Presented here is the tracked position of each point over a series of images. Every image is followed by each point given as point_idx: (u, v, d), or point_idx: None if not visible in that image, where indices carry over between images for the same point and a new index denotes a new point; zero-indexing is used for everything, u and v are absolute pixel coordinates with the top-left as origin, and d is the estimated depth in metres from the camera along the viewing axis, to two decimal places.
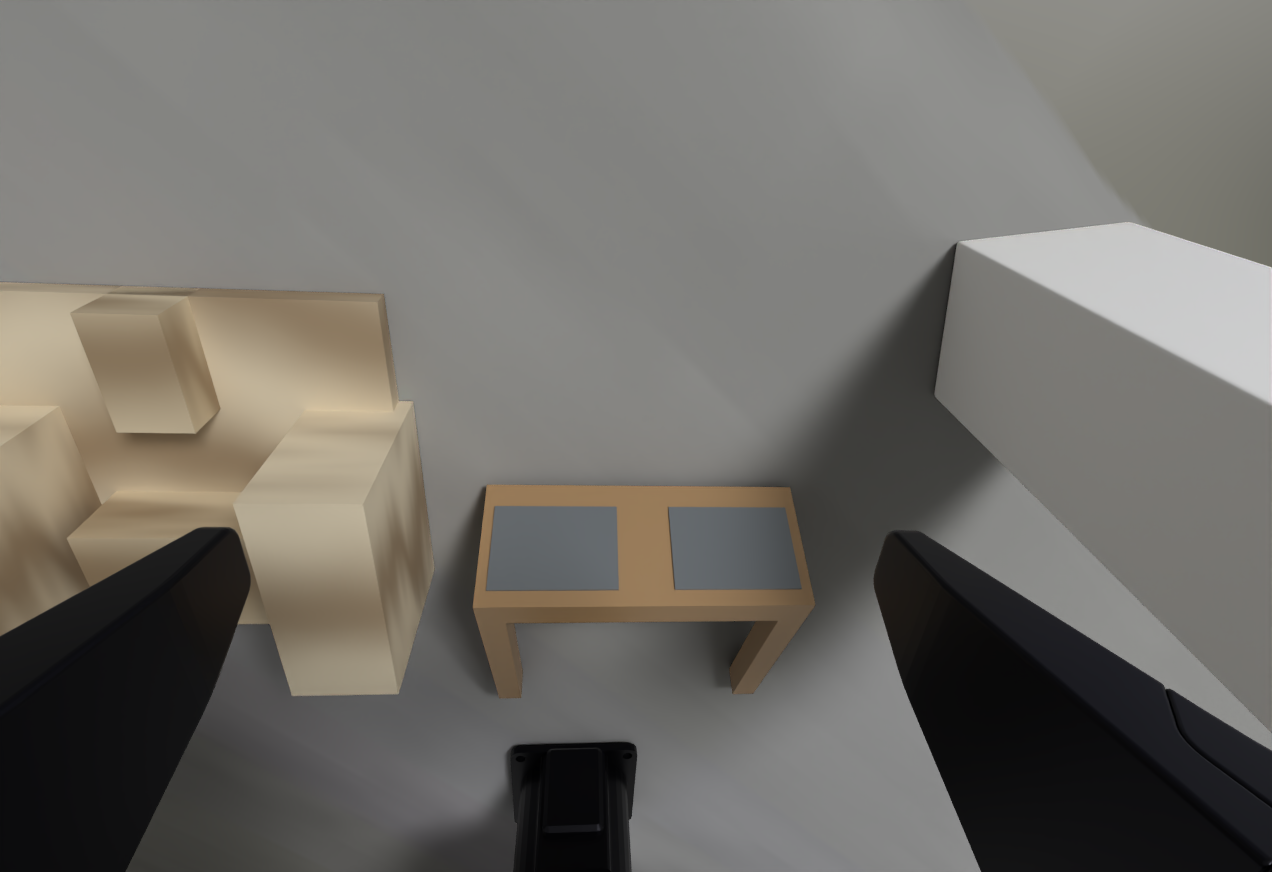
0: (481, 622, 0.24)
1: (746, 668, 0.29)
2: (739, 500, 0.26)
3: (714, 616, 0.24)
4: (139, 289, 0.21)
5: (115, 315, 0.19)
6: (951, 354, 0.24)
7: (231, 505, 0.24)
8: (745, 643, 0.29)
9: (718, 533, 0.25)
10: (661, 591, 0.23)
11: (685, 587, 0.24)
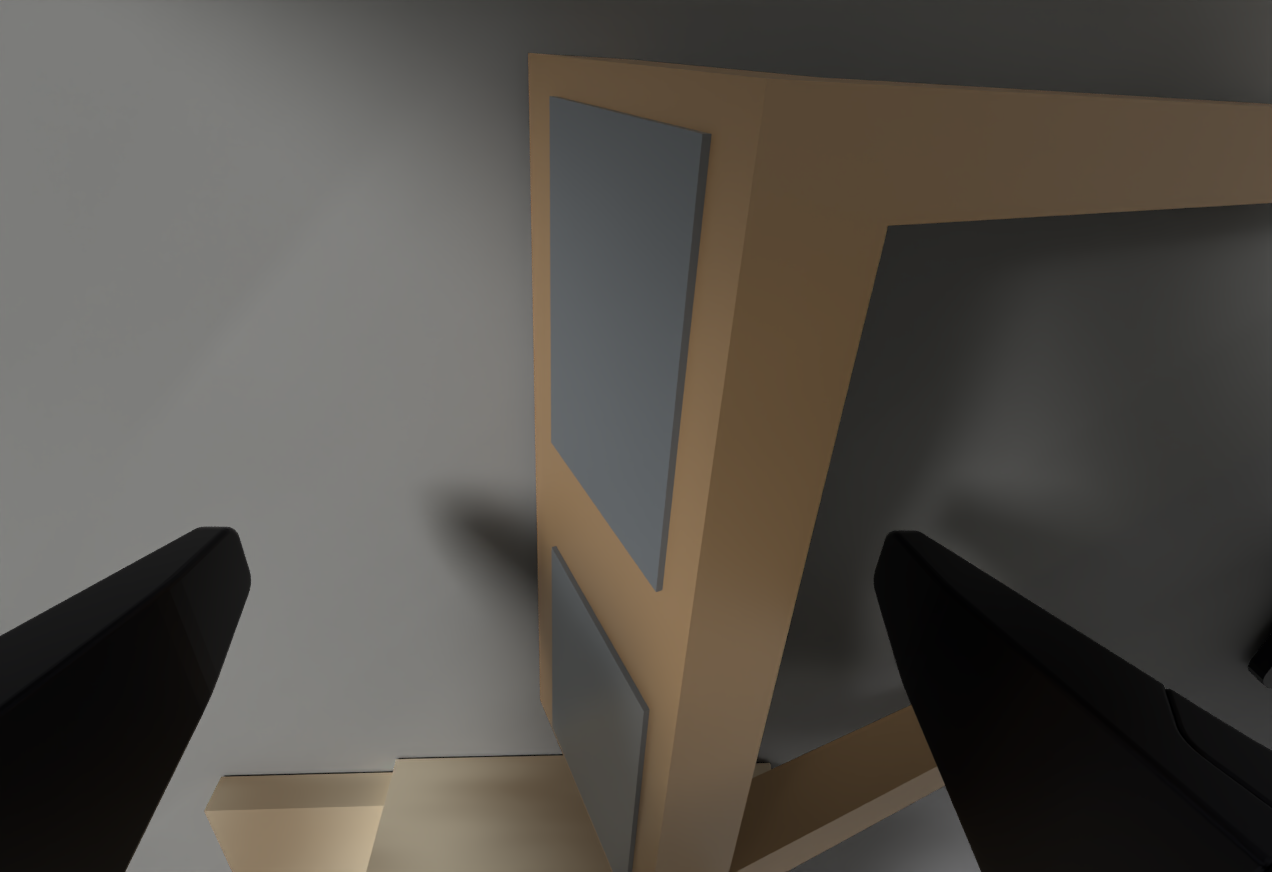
0: None
1: None
2: (545, 243, 0.09)
3: (789, 487, 0.06)
4: None
5: None
6: None
7: None
8: None
9: (583, 359, 0.08)
10: (661, 624, 0.07)
11: (656, 562, 0.07)
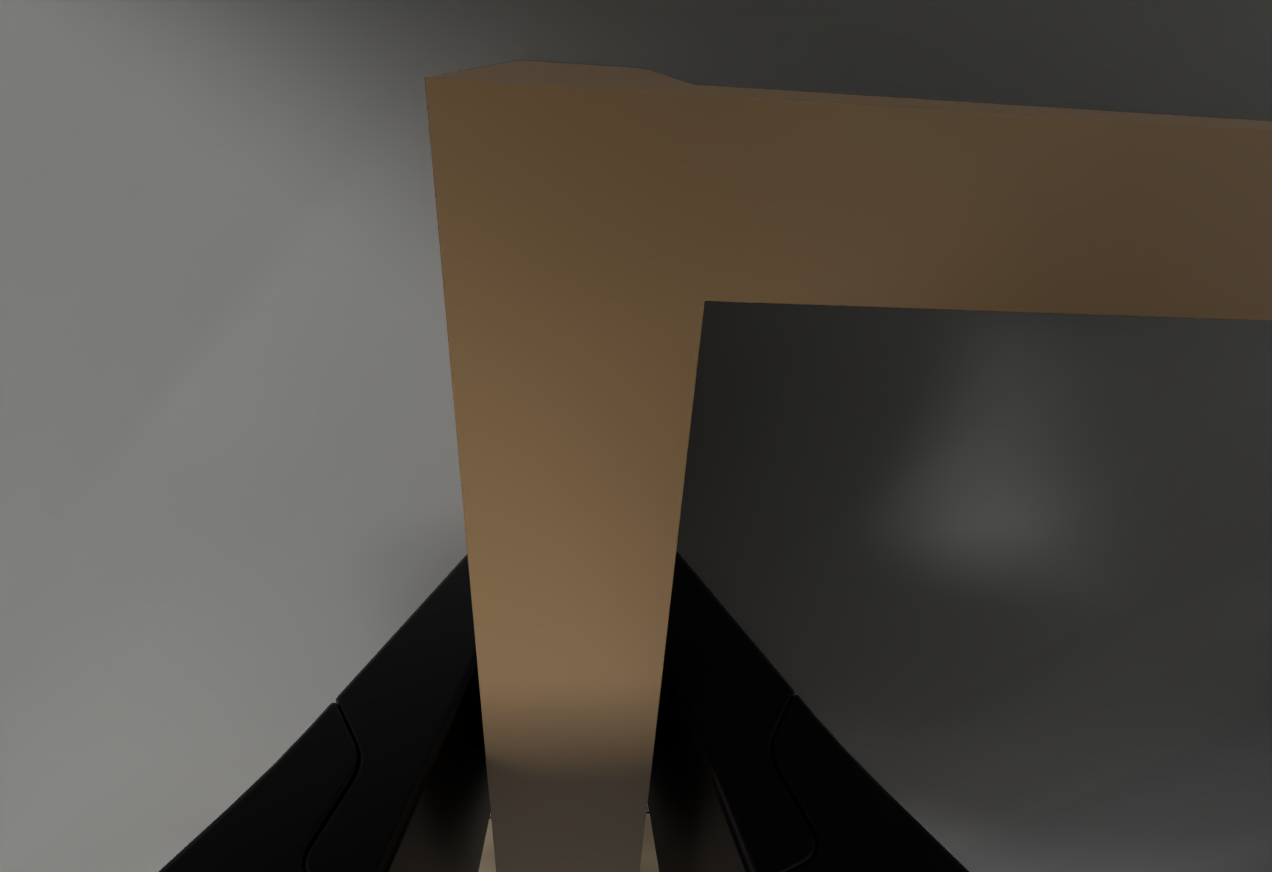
0: None
1: None
2: None
3: (605, 625, 0.05)
4: None
5: None
6: None
7: None
8: None
9: None
10: None
11: None
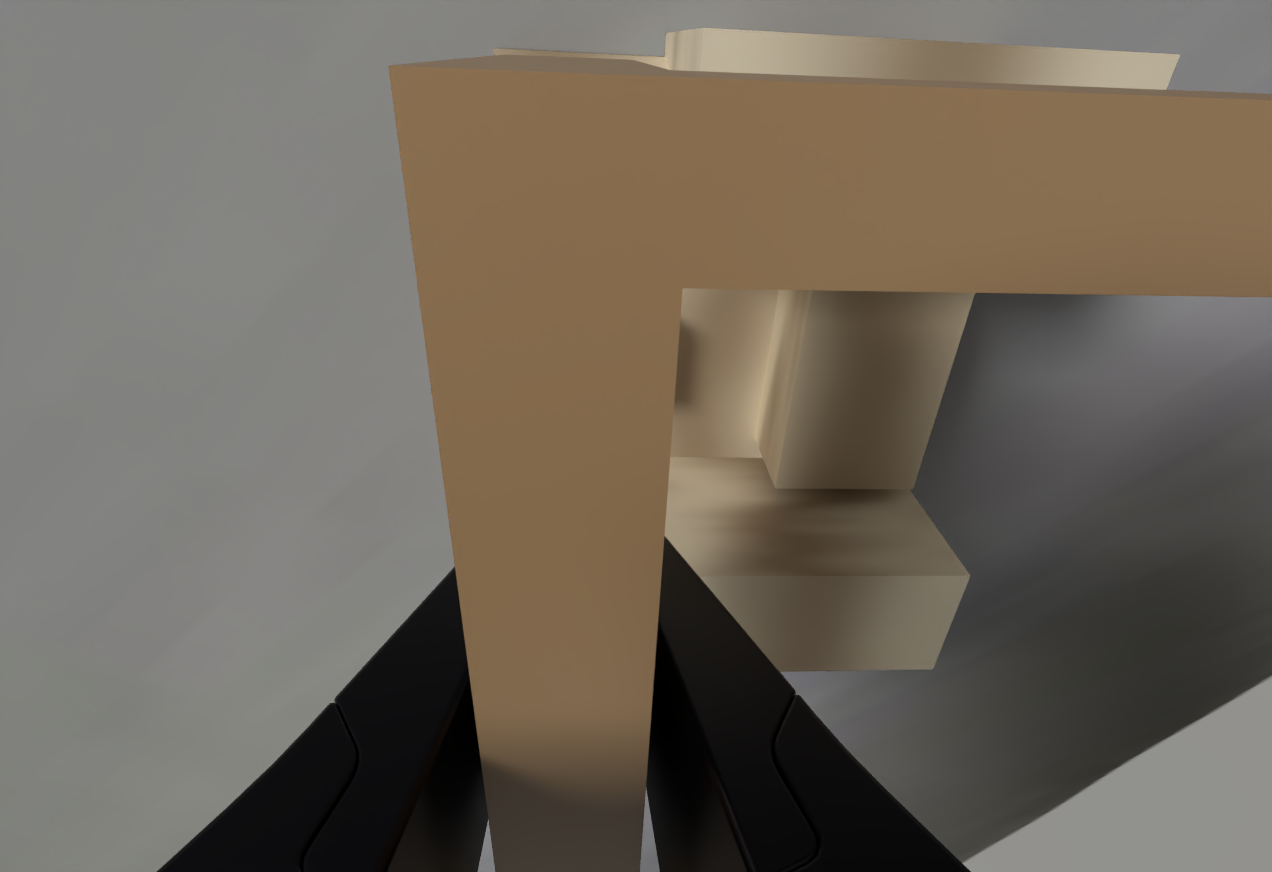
0: None
1: None
2: None
3: (595, 620, 0.05)
4: None
5: None
6: None
7: (783, 316, 0.18)
8: None
9: None
10: None
11: None
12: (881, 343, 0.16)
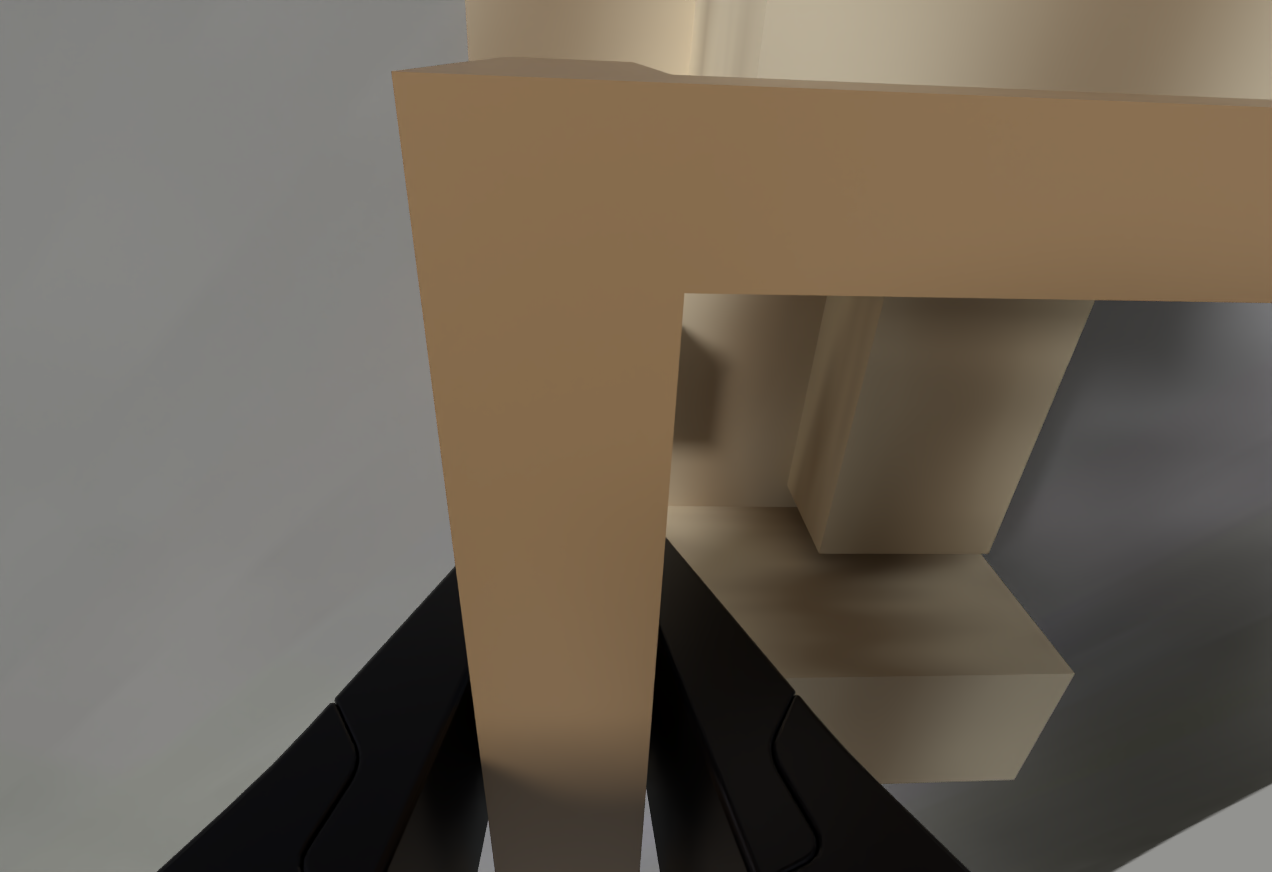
0: None
1: None
2: None
3: (597, 624, 0.05)
4: None
5: None
6: None
7: (832, 338, 0.14)
8: None
9: None
10: None
11: None
12: (965, 376, 0.13)
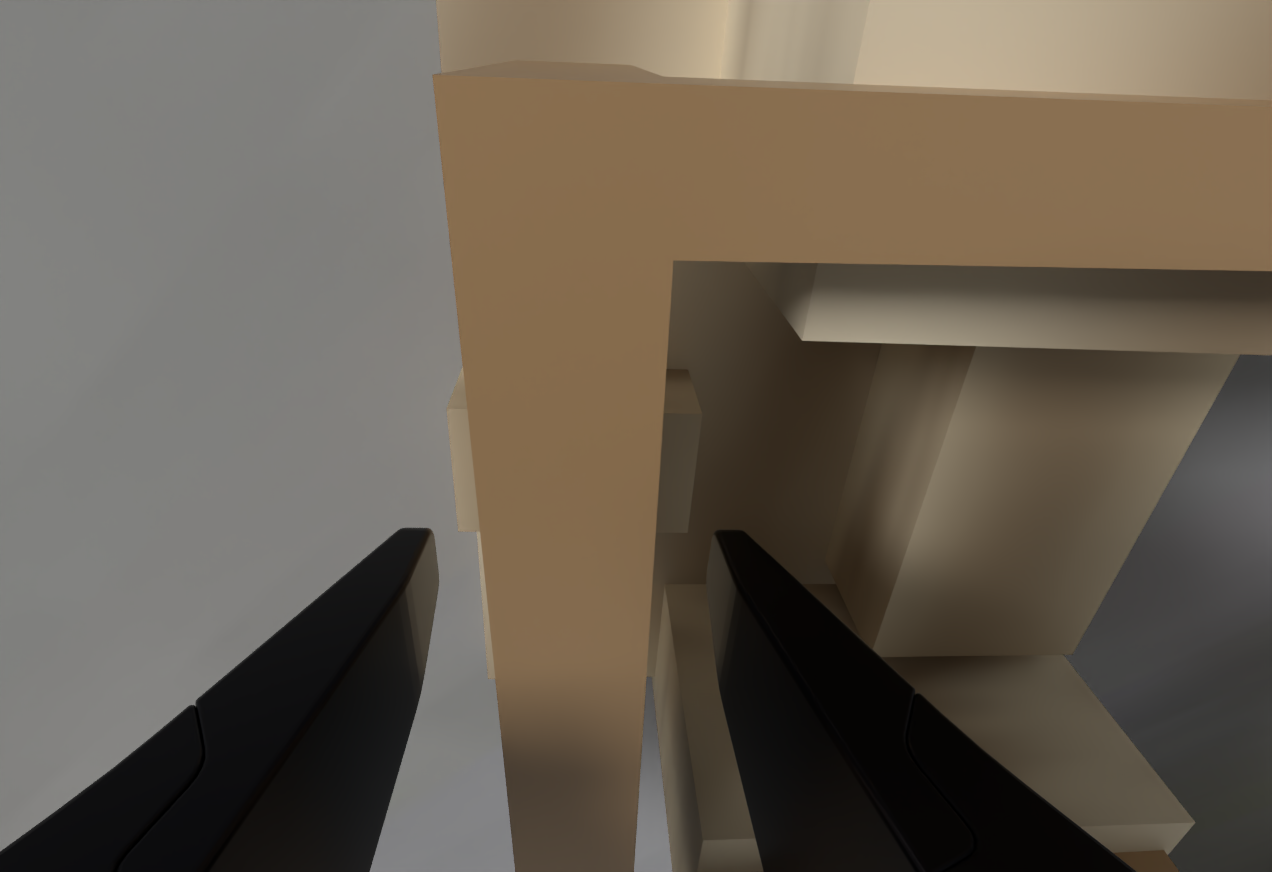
0: None
1: None
2: None
3: (599, 558, 0.05)
4: None
5: (455, 471, 0.11)
6: None
7: (889, 400, 0.12)
8: None
9: None
10: None
11: None
12: (1063, 456, 0.10)
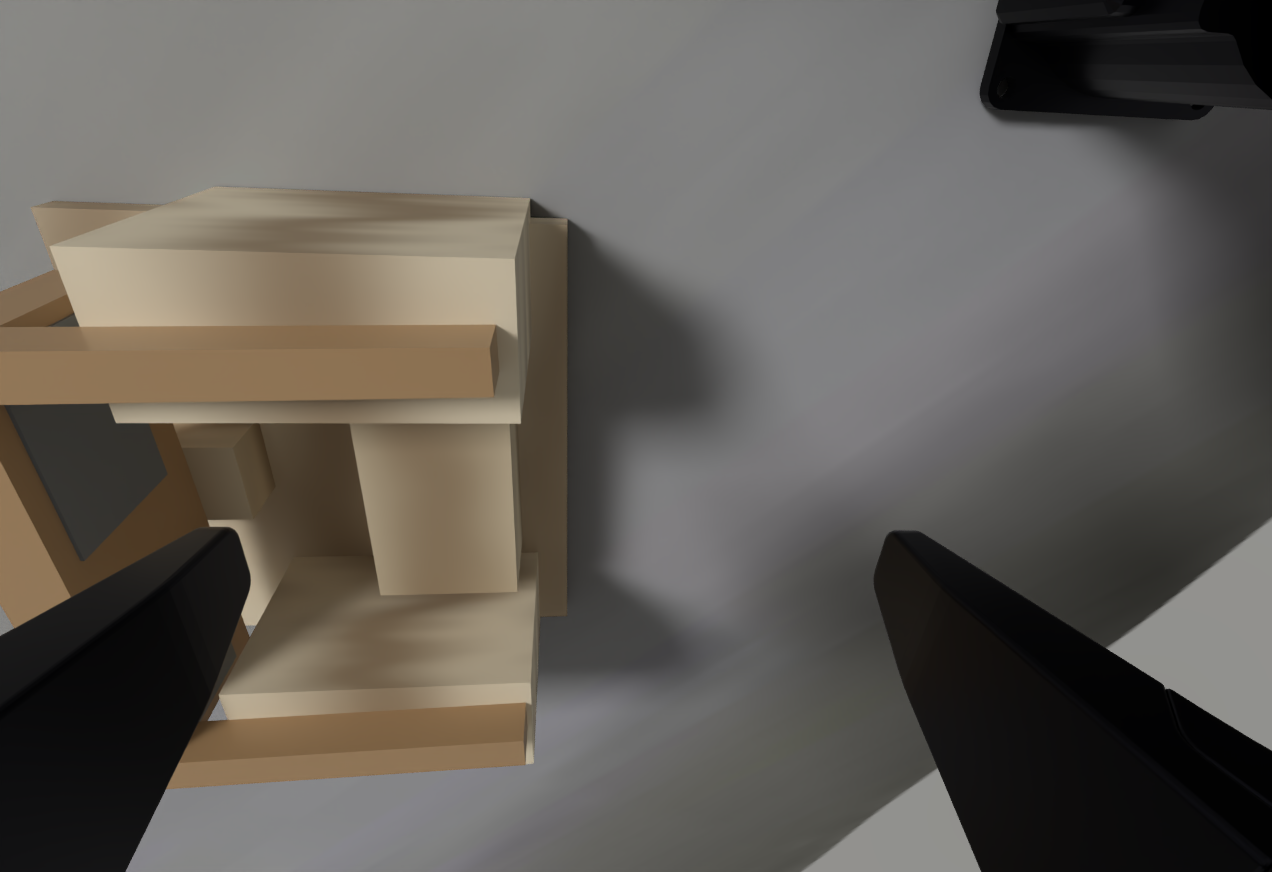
0: None
1: (310, 397, 0.12)
2: None
3: (5, 520, 0.13)
4: None
5: None
6: None
7: None
8: None
9: None
10: None
11: None
12: (435, 468, 0.18)
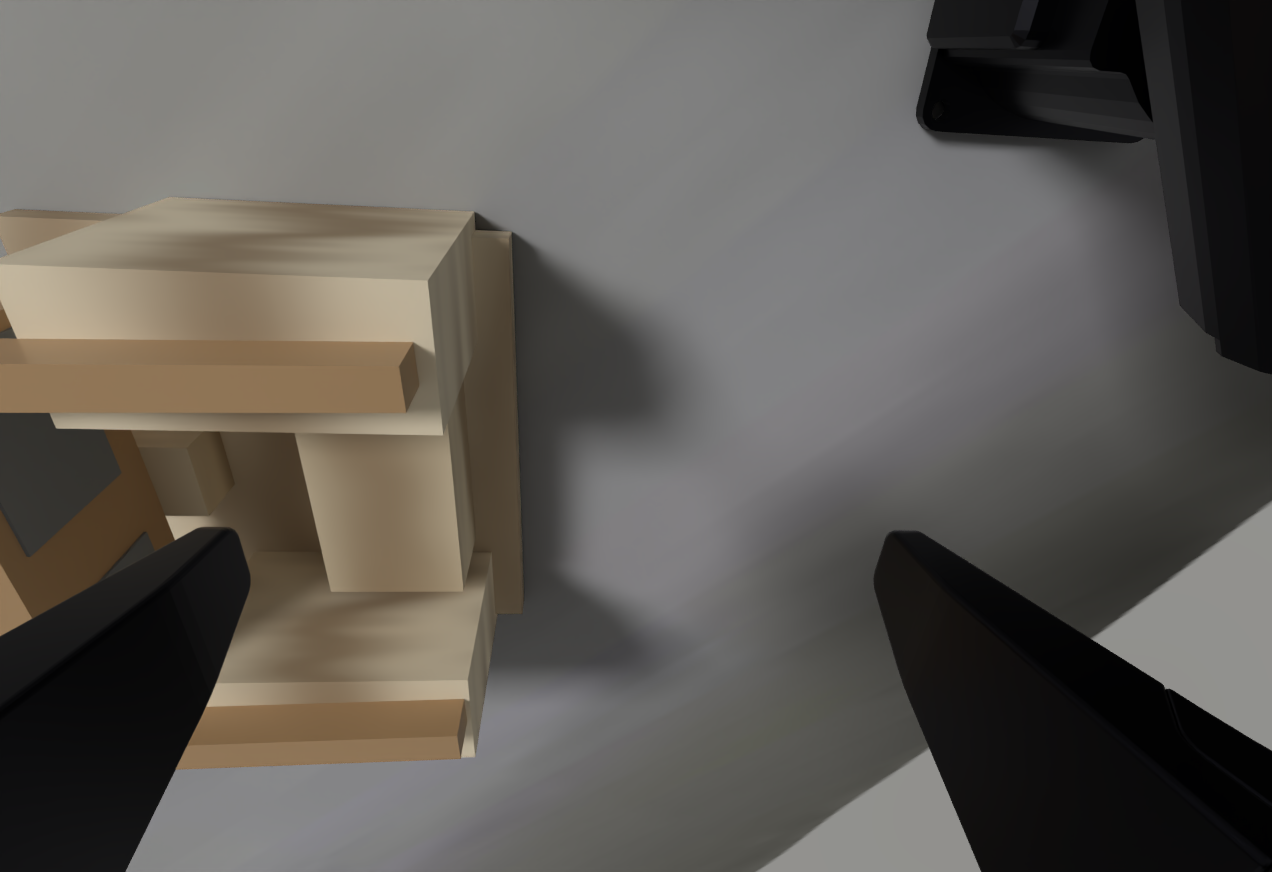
0: None
1: (231, 410, 0.13)
2: None
3: None
4: None
5: None
6: None
7: None
8: None
9: None
10: None
11: None
12: (378, 472, 0.18)
